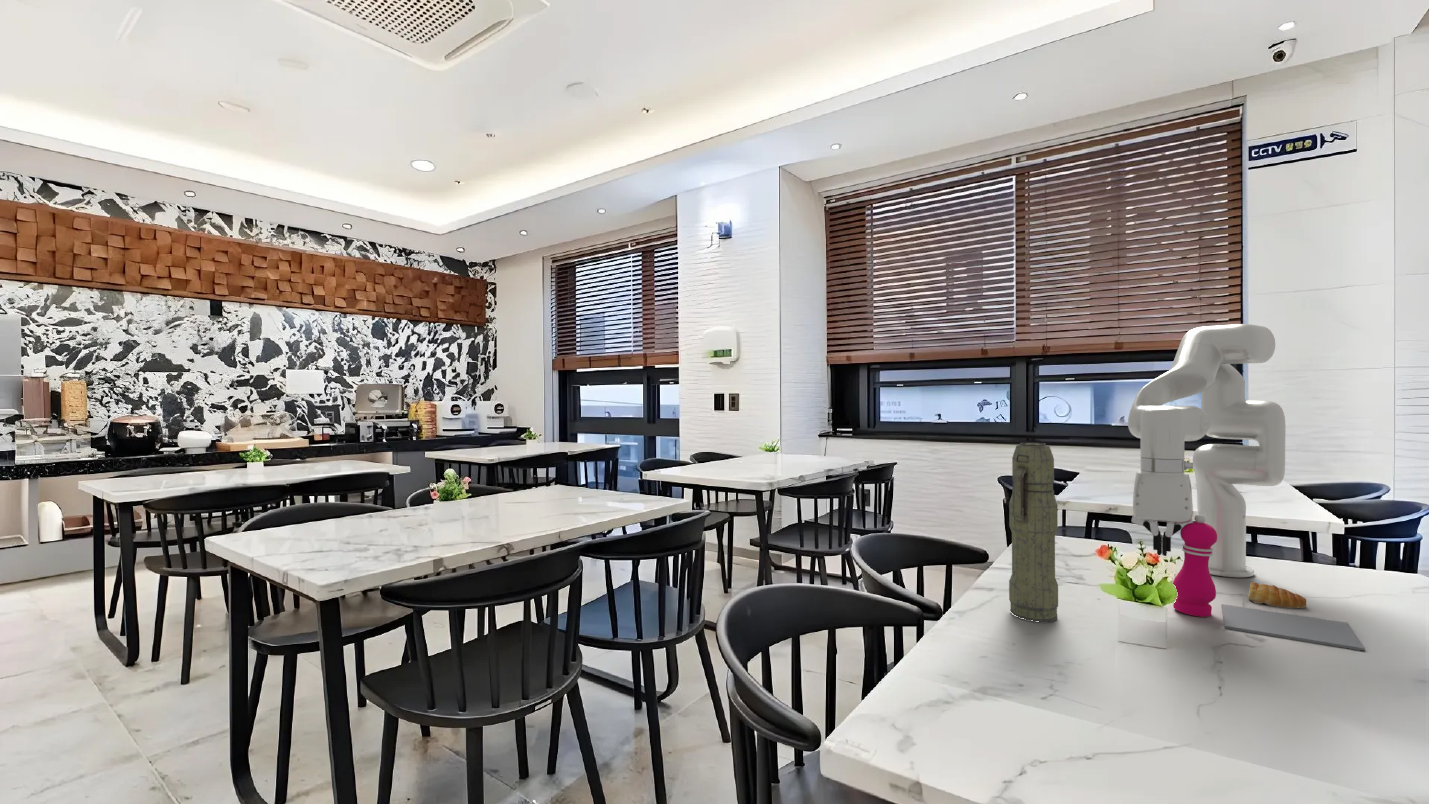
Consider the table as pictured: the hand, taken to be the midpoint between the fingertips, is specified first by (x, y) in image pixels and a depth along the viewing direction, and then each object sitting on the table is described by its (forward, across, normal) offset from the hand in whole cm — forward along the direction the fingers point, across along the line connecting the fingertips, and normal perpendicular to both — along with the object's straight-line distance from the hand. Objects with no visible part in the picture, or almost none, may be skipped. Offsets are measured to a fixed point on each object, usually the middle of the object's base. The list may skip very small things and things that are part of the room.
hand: (1162, 554), depth 134 cm
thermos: (+12, +21, +20) cm, 31 cm away
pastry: (+12, -19, -18) cm, 28 cm away
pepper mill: (+11, -5, 0) cm, 12 cm away
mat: (+11, -20, 0) cm, 22 cm away
